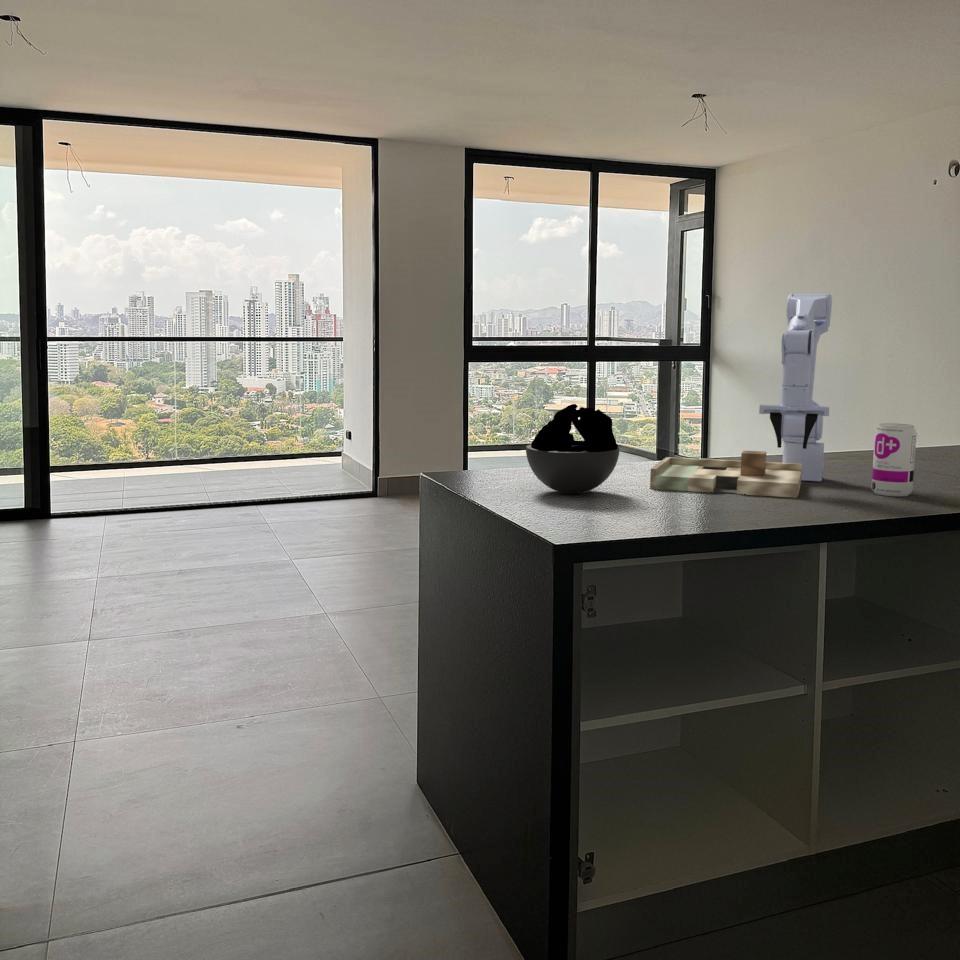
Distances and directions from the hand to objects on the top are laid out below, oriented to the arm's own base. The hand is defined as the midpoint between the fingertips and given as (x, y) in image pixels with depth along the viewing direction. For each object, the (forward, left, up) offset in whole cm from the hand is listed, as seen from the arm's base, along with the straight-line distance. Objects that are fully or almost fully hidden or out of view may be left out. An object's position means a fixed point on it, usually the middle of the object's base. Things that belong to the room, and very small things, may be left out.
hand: (791, 447), depth 216 cm
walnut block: (+8, 0, -6) cm, 10 cm away
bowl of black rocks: (+44, +22, -10) cm, 50 cm away
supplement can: (-21, -3, -10) cm, 23 cm away
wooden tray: (+14, -1, -9) cm, 17 cm away
